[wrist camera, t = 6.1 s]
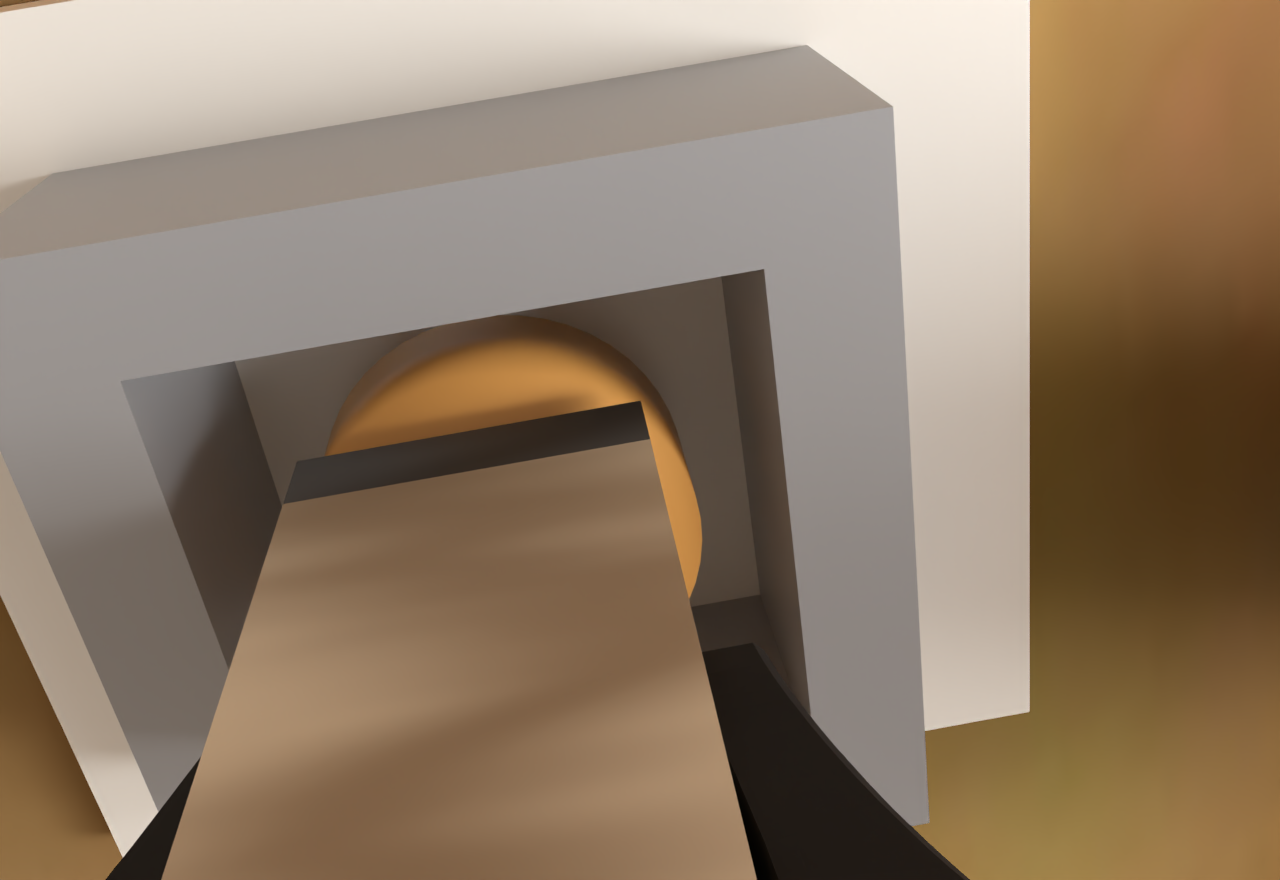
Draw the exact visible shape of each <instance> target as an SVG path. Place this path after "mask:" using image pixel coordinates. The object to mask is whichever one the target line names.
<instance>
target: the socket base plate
mask: <svg viewBox="0 0 1280 880" xmlns="http://www.w3.org/2000/svg"><path fill="white" fill-rule="evenodd" d="M497 315H520V316H528V317H535V318H543V319H547V320H551V321H555V322H559V323H562V324H566V325H569V326H572V327H574V328H577V329H579V330H582V331H584V332H587V333H589V334H591V335H593V336H595V337H597V338H598V339H600V340H602V341H604V342H606V343H607V344H609V345H611V346H612V347H614V348H615V349H616V350H618V351H619V352H620V353H622V354H623V355H624V356H626V357H627V358H628V359H630V360H631V361H632V362H633V363H634V364H635V365H636V366H637V367H638V368H639V369H640V370H641V371H642V372H643V373H644V374H645V375H646V376H647V378H648V379H649V380H650V382H651V383H652V384H653V385H654V387H655V388H656V389H657V391H658V392H659V394H660V395H661V397H662V399H663V401H664V402H665V404H666V406H667V408H668V410H669V411H670V414H671V416H672V419H673V422H674V424H675V427H676V429H677V432H678V436H679V439H680V443H681V446H682V450H683V453H684V457H685V460H686V464H687V467H688V471H689V474H690V478H691V481H692V485H693V488H694V492H695V495H696V499H697V504H698V508H699V513H700V517H701V529H702V550H701V562H700V566H699V570H698V575H697V579H696V583H695V586H694V588H693V591H692V593H691V596H690V598H689V601H690V606H691V610H692V614H693V618H694V622H695V626H696V630H697V634H698V639H699V643H700V647H701V651H702V652H704V651H710V650H715V649H721V648H726V647H732V646H737V645H743V644H748V643H754V644H756V645H757V646H759V647H760V648H762V649H763V650H765V651H766V653H767V655H768V657H769V659H770V660H771V662H772V664H773V665H774V667H775V668H776V670H777V671H778V673H779V674H780V676H781V677H782V679H783V680H784V682H785V683H786V684H787V686H788V687H789V689H790V690H791V691H792V693H793V694H794V695H795V697H796V698H797V699H798V701H799V702H800V703H801V705H802V706H803V707H804V708H805V710H806V711H807V712H808V714H809V715H810V716H811V717H812V719H813V720H814V721H815V722H816V724H817V725H818V726H819V727H820V729H821V730H822V731H823V732H824V733H825V735H826V736H827V737H828V738H829V739H830V740H831V742H832V743H833V744H834V745H835V746H836V747H837V749H838V750H839V751H840V752H841V753H842V754H843V755H844V756H845V757H846V759H847V760H848V761H849V762H850V763H851V764H852V765H853V766H854V767H855V768H856V770H857V771H858V772H859V773H860V774H861V775H862V776H863V777H864V778H865V780H866V781H867V782H868V783H869V784H870V785H871V786H872V787H873V788H874V789H875V790H876V791H877V792H878V793H879V794H880V796H881V797H882V798H883V799H884V800H885V801H886V802H887V803H888V804H889V805H890V806H891V807H892V808H893V809H894V810H895V811H896V812H897V813H898V814H899V815H900V816H901V817H902V818H903V819H904V820H905V821H906V822H907V823H908V824H910V825H911V826H915V825H920V824H926V823H929V806H928V786H927V766H926V746H925V731H928V730H933V729H938V728H944V727H949V726H955V725H960V724H966V723H971V722H977V721H982V720H988V719H993V718H999V717H1004V716H1009V715H1015V714H1020V713H1026V712H1030V0H39V1H33V2H27V3H22V4H16V5H10V6H4V7H0V596H1V598H2V600H3V602H4V604H5V606H6V608H7V611H8V613H9V615H10V617H11V619H12V621H13V623H14V626H15V628H16V630H17V632H18V634H19V636H20V638H21V641H22V643H23V645H24V647H25V649H26V651H27V653H28V656H29V658H30V660H31V662H32V664H33V666H34V668H35V671H36V673H37V675H38V677H39V679H40V681H41V683H42V686H43V688H44V690H45V692H46V694H47V696H48V698H49V701H50V703H51V705H52V707H53V709H54V711H55V713H56V716H57V718H58V720H59V722H60V724H61V726H62V728H63V731H64V733H65V735H66V737H67V739H68V741H69V743H70V746H71V748H72V750H73V752H74V754H75V756H76V758H77V761H78V763H79V765H80V767H81V769H82V771H83V773H84V776H85V778H86V780H87V782H88V784H89V786H90V788H91V791H92V793H93V795H94V797H95V799H96V801H97V803H98V806H99V808H100V810H101V812H102V814H103V816H104V818H105V821H106V823H107V825H108V827H109V829H110V831H111V833H112V836H113V838H114V840H115V842H116V844H117V846H118V848H119V851H120V853H121V855H122V857H124V856H125V855H126V853H127V852H128V851H129V849H130V848H131V847H132V846H133V844H134V843H135V842H136V840H137V839H138V838H139V837H140V835H141V834H142V833H143V831H144V830H145V829H146V827H147V826H148V825H149V824H150V822H151V821H152V820H153V818H154V817H155V816H156V814H157V813H158V812H159V811H160V809H161V808H162V807H163V805H164V804H165V803H166V801H167V800H168V799H169V797H170V796H171V795H172V794H173V792H174V791H175V790H176V788H177V787H178V786H179V784H180V783H181V782H182V780H183V779H184V778H185V777H186V775H187V774H188V773H189V771H190V770H191V769H192V767H193V766H194V765H195V764H196V762H197V761H198V760H199V758H200V757H201V756H202V752H203V749H204V746H205V743H206V740H207V737H208V734H209V731H210V728H211V725H212V722H213V718H214V715H215V712H216V709H217V706H218V703H219V700H220V697H221V694H222V691H223V688H224V685H225V681H226V678H227V675H228V672H229V669H230V666H231V663H232V660H233V657H234V654H235V651H236V648H237V644H238V641H239V638H240V635H241V632H242V629H243V626H244V623H245V620H246V617H247V614H248V610H249V607H250V604H251V601H252V598H253V595H254V592H255V589H256V586H257V583H258V580H259V577H260V573H261V570H262V567H263V564H264V561H265V558H266V555H267V552H268V549H269V546H270V543H271V540H272V536H273V533H274V530H275V527H276V524H277V521H278V518H279V515H280V512H281V509H282V506H283V502H284V499H285V496H286V493H287V490H288V487H289V484H290V481H291V478H292V475H293V472H294V469H295V465H296V462H297V461H301V460H307V459H312V458H318V457H324V455H325V452H326V448H327V445H328V441H329V438H330V434H331V431H332V428H333V426H334V423H335V421H336V418H337V416H338V413H339V411H340V409H341V407H342V405H343V404H344V402H345V400H346V399H347V397H348V395H349V394H350V392H351V390H352V389H353V388H354V387H355V385H356V384H357V383H358V382H359V380H360V379H361V378H362V377H363V375H364V374H365V373H366V372H367V371H368V370H369V369H370V368H371V367H372V366H373V365H375V364H376V363H377V362H378V361H379V360H380V359H381V358H382V357H383V356H385V355H386V354H388V353H389V352H390V351H392V350H393V349H395V348H396V347H397V346H399V345H400V344H402V343H404V342H405V341H407V340H409V339H411V338H413V337H415V336H417V335H419V334H420V333H422V332H425V331H428V330H430V329H433V328H435V327H438V326H441V325H445V324H451V323H457V322H463V321H468V320H474V319H480V318H486V317H491V316H497Z"/></svg>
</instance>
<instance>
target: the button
mask: <svg viewBox="0 0 1280 880" xmlns="http://www.w3.org/2000/svg"><path fill="white" fill-rule="evenodd" d="M635 401H641V403H642V408H643V412H644V416H645V420H646V424H647V428H648V432H649V436H650V441H651V445H652V449H653V453H654V457H655V461H656V465H657V469H658V474H659V478H660V482H661V486H662V490H663V494H664V498H665V502H666V507H667V511H668V515H669V519H670V523H671V527H672V531H673V535H674V540H675V544H676V548H677V552H678V556H679V560H680V564H681V568H682V573H683V577H684V581H685V585H686V589H687V593H688V597H689V598H690V596H691V593H692V591H693V588H694V586H695V583H696V579H697V575H698V570H699V566H700V562H701V550H702V529H701V517H700V513H699V508H698V504H697V499H696V495H695V492H694V488H693V485H692V481H691V478H690V474H689V471H688V467H687V464H686V460H685V457H684V453H683V450H682V446H681V443H680V439H679V436H678V432H677V429H676V427H675V424H674V422H673V419H672V416H671V414H670V411H669V410H668V408H667V406H666V404H665V402H664V401H663V399H662V397H661V395H660V394H659V392H658V391H657V389H656V388H655V387H654V385H653V384H652V383H651V382H650V380H649V379H648V378H647V376H646V375H645V374H644V373H643V372H642V371H641V370H640V369H639V368H638V367H637V366H636V365H635V364H634V363H633V362H632V361H631V360H630V359H628V358H627V357H626V356H624V355H623V354H622V353H620V352H619V351H618V350H616V349H615V348H614V347H612V346H611V345H609V344H607V343H606V342H604V341H602V340H600V339H598V338H597V337H595V336H593V335H591V334H589V333H587V332H584V331H582V330H579V329H577V328H574V327H572V326H569V325H566V324H562V323H559V322H555V321H551V320H547V319H543V318H535V317H528V316H520V315H497V316H491V317H486V318H480V319H474V320H468V321H463V322H457V323H451V324H445V325H441V326H438V327H435V328H433V329H430V330H428V331H425V332H422V333H420V334H419V335H417V336H415V337H413V338H411V339H409V340H407V341H405V342H404V343H402V344H400V345H399V346H397V347H396V348H395V349H393V350H392V351H390V352H389V353H388V354H386V355H385V356H383V357H382V358H381V359H380V360H379V361H378V362H377V363H376V364H375V365H373V366H372V367H371V368H370V369H369V370H368V371H367V372H366V373H365V374H364V375H363V377H362V378H361V379H360V380H359V382H358V383H357V384H356V385H355V387H354V388H353V389H352V390H351V392H350V394H349V395H348V397H347V399H346V400H345V402H344V404H343V405H342V407H341V409H340V411H339V413H338V416H337V418H336V421H335V423H334V426H333V428H332V431H331V434H330V438H329V441H328V445H327V448H326V452H325V455H324V456H329V455H335V454H341V453H346V452H352V451H358V450H363V449H369V448H375V447H380V446H386V445H392V444H397V443H403V442H409V441H414V440H420V439H426V438H431V437H437V436H443V435H448V434H454V433H460V432H465V431H471V430H477V429H482V428H488V427H494V426H499V425H505V424H511V423H516V422H522V421H528V420H533V419H539V418H545V417H550V416H556V415H562V414H567V413H573V412H579V411H584V410H590V409H595V408H601V407H607V406H612V405H618V404H624V403H629V402H635Z"/></svg>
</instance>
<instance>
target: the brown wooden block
mask: <svg viewBox="0 0 1280 880" xmlns="http://www.w3.org/2000/svg"><path fill="white" fill-rule="evenodd" d="M161 880H757V878H756V874H755V870H754V865H753V861H752V857H751V853H750V849H749V845H748V841H747V837H746V832H745V828H744V824H743V820H742V816H741V812H740V808H739V804H738V799H737V795H736V791H735V787H734V783H733V779H732V775H731V771H730V766H729V762H728V758H727V754H726V750H725V746H724V742H723V738H722V733H721V729H720V725H719V721H718V717H717V713H716V709H715V705H714V700H713V696H712V692H711V688H710V684H709V680H708V676H707V672H706V667H705V663H704V659H703V655H702V651H701V647H700V643H699V639H698V634H697V630H696V626H695V622H694V618H693V614H692V610H691V606H690V601H689V597H688V593H687V589H686V585H685V581H684V577H683V573H682V568H681V564H680V560H679V556H678V552H677V548H676V544H675V540H674V535H673V531H672V527H671V523H670V519H669V515H668V511H667V507H666V502H665V498H664V494H663V490H662V486H661V482H660V478H659V474H658V469H657V465H656V461H655V457H654V453H653V449H652V445H651V441H650V436H649V432H648V428H647V424H646V420H645V416H644V412H643V408H642V403H641V401H635V402H629V403H624V404H618V405H612V406H607V407H601V408H595V409H590V410H584V411H579V412H573V413H567V414H562V415H556V416H550V417H545V418H539V419H533V420H528V421H522V422H516V423H511V424H505V425H499V426H494V427H488V428H482V429H477V430H471V431H465V432H460V433H454V434H448V435H443V436H437V437H431V438H426V439H420V440H414V441H409V442H403V443H397V444H392V445H386V446H380V447H375V448H369V449H363V450H358V451H352V452H346V453H341V454H335V455H329V456H324V457H318V458H312V459H307V460H301V461H297V462H296V465H295V469H294V472H293V475H292V478H291V481H290V484H289V487H288V490H287V493H286V496H285V499H284V502H283V506H282V509H281V512H280V515H279V518H278V521H277V524H276V527H275V530H274V533H273V536H272V540H271V543H270V546H269V549H268V552H267V555H266V558H265V561H264V564H263V567H262V570H261V573H260V577H259V580H258V583H257V586H256V589H255V592H254V595H253V598H252V601H251V604H250V607H249V610H248V614H247V617H246V620H245V623H244V626H243V629H242V632H241V635H240V638H239V641H238V644H237V648H236V651H235V654H234V657H233V660H232V663H231V666H230V669H229V672H228V675H227V678H226V681H225V685H224V688H223V691H222V694H221V697H220V700H219V703H218V706H217V709H216V712H215V715H214V718H213V722H212V725H211V728H210V731H209V734H208V737H207V740H206V743H205V746H204V749H203V752H202V756H201V759H200V762H199V765H198V768H197V771H196V774H195V777H194V780H193V783H192V786H191V789H190V793H189V796H188V799H187V802H186V805H185V808H184V811H183V814H182V817H181V820H180V823H179V826H178V830H177V833H176V836H175V839H174V842H173V845H172V848H171V851H170V854H169V857H168V860H167V864H166V867H165V870H164V873H163V876H162V879H161Z"/></svg>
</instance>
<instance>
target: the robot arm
mask: <svg viewBox="0 0 1280 880" xmlns="http://www.w3.org/2000/svg"><path fill="white" fill-rule="evenodd" d="M702 655H703V659H704V663H705V667H706V672H707V676H708V680H709V684H710V688H711V692H712V696H713V700H714V705H715V709H716V713H717V717H718V721H719V725H720V729H721V733H722V738H723V742H724V746H725V750H726V754H727V758H728V762H729V766H730V771H731V775H732V779H733V783H734V787H735V791H736V795H737V799H738V804H739V808H740V812H741V816H742V820H743V824H744V828H745V832H746V837H747V841H748V845H749V849H750V853H751V857H752V861H753V865H754V870H755V874H756V878H757V880H970V879H968V878H967V877H966V876H965V875H964V874H963V873H961V872H960V871H959V870H958V869H957V868H956V867H955V866H953V865H952V864H951V863H950V862H949V861H948V860H947V859H946V858H945V857H943V856H942V855H941V854H940V853H939V852H938V851H937V850H936V849H935V848H934V847H933V846H931V845H930V844H929V843H928V842H927V841H926V840H925V839H924V838H923V837H922V836H921V835H920V834H919V833H918V832H917V831H916V830H915V829H914V828H913V827H912V826H911V825H910V824H908V823H907V822H906V821H905V820H904V819H903V818H902V817H901V816H900V815H899V814H898V813H897V812H896V811H895V810H894V809H893V808H892V807H891V806H890V805H889V804H888V803H887V802H886V801H885V800H884V799H883V798H882V797H881V796H880V794H879V793H878V792H877V791H876V790H875V789H874V788H873V787H872V786H871V785H870V784H869V783H868V782H867V781H866V780H865V778H864V777H863V776H862V775H861V774H860V773H859V772H858V771H857V770H856V768H855V767H854V766H853V765H852V764H851V763H850V762H849V761H848V760H847V759H846V757H845V756H844V755H843V754H842V753H841V752H840V751H839V750H838V749H837V747H836V746H835V745H834V744H833V743H832V742H831V740H830V739H829V738H828V737H827V736H826V735H825V733H824V732H823V731H822V730H821V729H820V727H819V726H818V725H817V724H816V722H815V721H814V720H813V719H812V717H811V716H810V715H809V714H808V712H807V711H806V710H805V708H804V707H803V706H802V705H801V703H800V702H799V701H798V699H797V698H796V697H795V695H794V694H793V693H792V691H791V690H790V689H789V687H788V686H787V684H786V683H785V682H784V680H783V679H782V677H781V676H780V674H779V673H778V671H777V670H776V668H775V667H774V665H773V664H772V662H771V660H770V659H769V657H768V655H767V653H766V651H765V650H763V649H762V648H760V647H759V646H757V645H756V644H754V643H748V644H743V645H737V646H732V647H726V648H721V649H715V650H710V651H704V652H702ZM200 759H201V757H200V758H199V760H198V761H197V762H196V764H195V765H194V766H193V767H192V769H191V770H190V771H189V773H188V774H187V775H186V777H185V778H184V779H183V780H182V782H181V783H180V784H179V786H178V787H177V788H176V790H175V791H174V792H173V794H172V795H171V796H170V797H169V799H168V800H167V801H166V803H165V804H164V805H163V807H162V808H161V809H160V811H159V812H158V813H157V814H156V816H155V817H154V818H153V820H152V821H151V822H150V824H149V825H148V826H147V827H146V829H145V830H144V831H143V833H142V834H141V835H140V837H139V838H138V839H137V840H136V842H135V843H134V844H133V846H132V847H131V848H130V849H129V851H128V852H127V853H126V855H125V856H124V857H123V858H122V860H121V861H120V862H119V863H118V865H117V866H116V867H115V868H114V870H113V871H112V872H111V873H110V875H109V876H108V877H107V879H106V880H161V879H162V876H163V873H164V870H165V867H166V864H167V860H168V857H169V854H170V851H171V848H172V845H173V842H174V839H175V836H176V833H177V830H178V826H179V823H180V820H181V817H182V814H183V811H184V808H185V805H186V802H187V799H188V796H189V793H190V789H191V786H192V783H193V780H194V777H195V774H196V771H197V768H198V765H199V762H200Z"/></svg>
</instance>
